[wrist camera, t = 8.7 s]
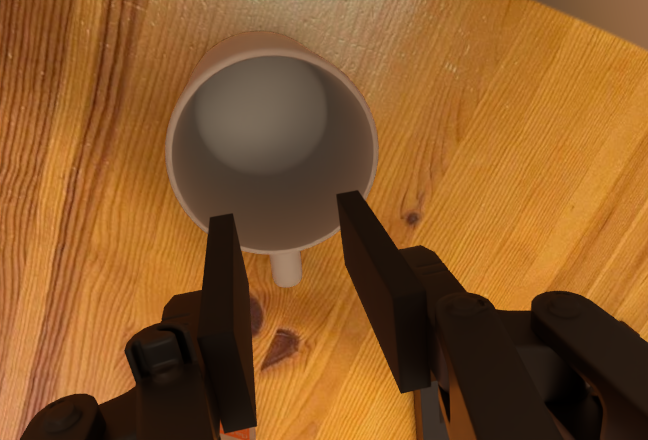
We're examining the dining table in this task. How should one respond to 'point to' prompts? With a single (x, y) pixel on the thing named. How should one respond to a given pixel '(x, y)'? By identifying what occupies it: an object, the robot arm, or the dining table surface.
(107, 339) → the dining table surface
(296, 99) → the mug
